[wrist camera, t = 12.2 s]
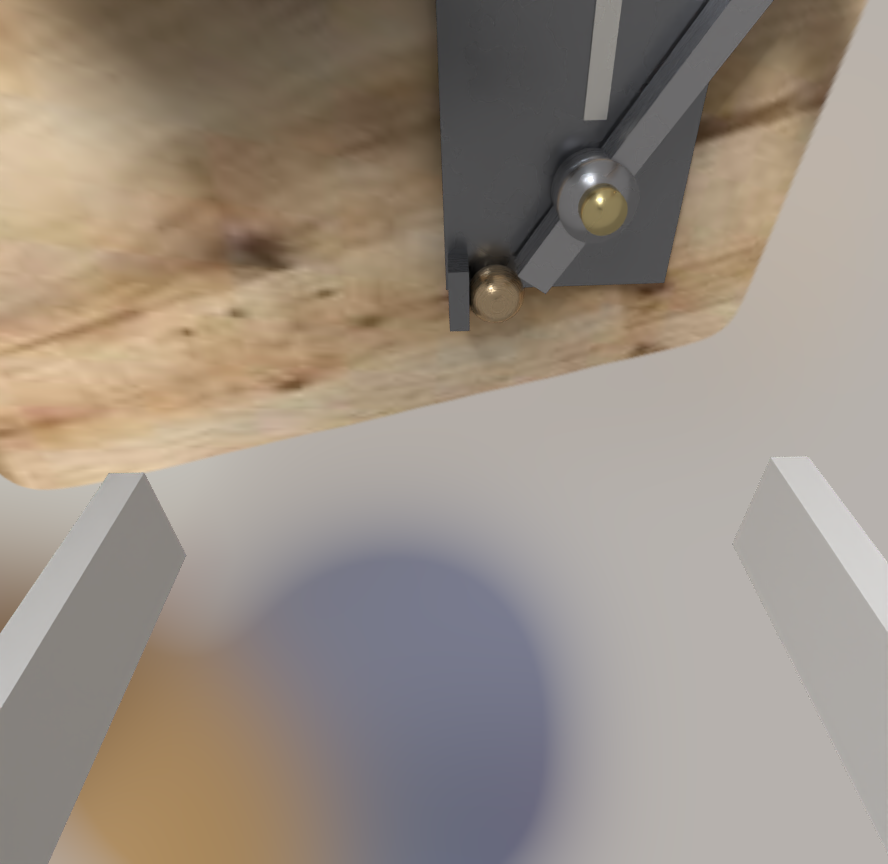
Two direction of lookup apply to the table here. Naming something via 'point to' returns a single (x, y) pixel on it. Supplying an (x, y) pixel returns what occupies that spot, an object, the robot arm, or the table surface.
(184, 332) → the table surface
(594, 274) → the base
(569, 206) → the lever
